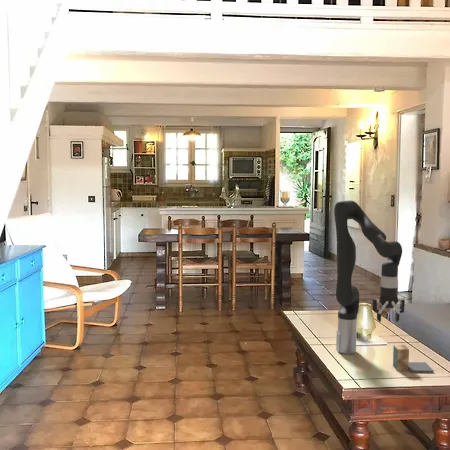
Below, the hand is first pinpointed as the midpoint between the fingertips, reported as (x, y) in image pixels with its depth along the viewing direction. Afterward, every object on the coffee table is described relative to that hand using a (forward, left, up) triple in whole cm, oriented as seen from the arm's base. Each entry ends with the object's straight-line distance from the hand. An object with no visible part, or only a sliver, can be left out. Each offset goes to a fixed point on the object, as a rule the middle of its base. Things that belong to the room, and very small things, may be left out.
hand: (388, 321), depth 232 cm
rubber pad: (+14, 0, -22) cm, 26 cm away
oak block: (+6, 0, -22) cm, 23 cm away
